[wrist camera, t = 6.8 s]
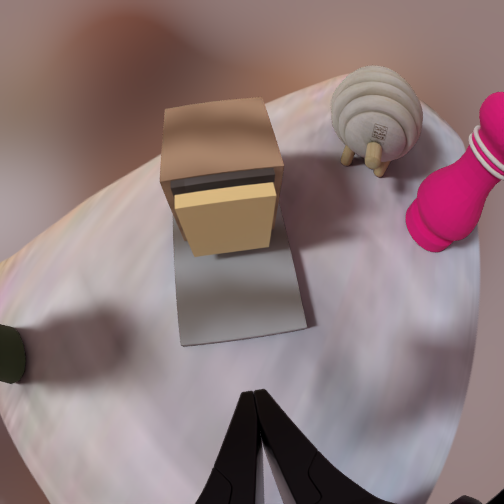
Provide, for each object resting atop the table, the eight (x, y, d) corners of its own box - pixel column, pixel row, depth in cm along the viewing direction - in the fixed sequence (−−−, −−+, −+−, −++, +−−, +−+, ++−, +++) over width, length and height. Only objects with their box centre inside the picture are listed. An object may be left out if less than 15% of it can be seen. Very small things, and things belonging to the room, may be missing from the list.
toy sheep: (395, 124, 34) (421, 64, 24) (404, 218, 27) (457, 149, 17) (326, 103, 35) (341, 37, 25) (313, 192, 28) (338, 106, 18)
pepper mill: (425, 192, 29) (509, 62, 11) (460, 240, 26) (568, 126, 8) (389, 213, 28) (485, 55, 9) (428, 268, 25) (564, 137, 7)
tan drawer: (268, 246, 23) (276, 195, 17) (194, 257, 22) (174, 208, 16) (248, 149, 27) (248, 93, 21) (189, 157, 27) (177, 101, 21)
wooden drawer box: (304, 329, 23) (338, 299, 14) (183, 346, 22) (143, 326, 13) (266, 161, 30) (271, 90, 21) (174, 173, 29) (154, 105, 21)
